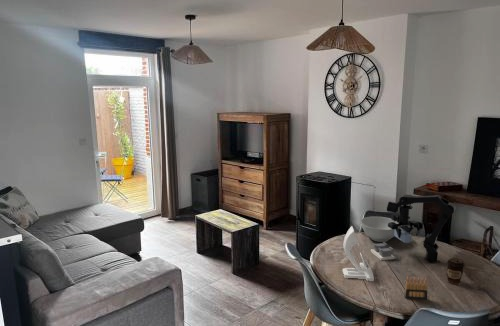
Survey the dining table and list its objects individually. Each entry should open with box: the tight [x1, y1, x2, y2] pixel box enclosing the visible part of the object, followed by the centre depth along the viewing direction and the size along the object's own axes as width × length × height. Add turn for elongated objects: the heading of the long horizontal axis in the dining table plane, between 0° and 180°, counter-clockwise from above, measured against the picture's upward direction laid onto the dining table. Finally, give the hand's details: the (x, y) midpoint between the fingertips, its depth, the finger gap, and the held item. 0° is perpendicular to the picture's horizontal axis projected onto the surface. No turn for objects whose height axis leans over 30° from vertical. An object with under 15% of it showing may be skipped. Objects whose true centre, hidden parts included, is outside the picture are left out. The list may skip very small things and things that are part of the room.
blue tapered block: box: [394, 227, 412, 244], centre depth 236 cm, size 12×4×5 cm, turn 10°
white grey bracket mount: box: [370, 242, 395, 261], centre depth 235 cm, size 13×9×6 cm
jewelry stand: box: [342, 225, 375, 282], centre depth 214 cm, size 25×16×25 cm, turn 176°
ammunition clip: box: [403, 275, 429, 301], centre depth 186 cm, size 11×2×12 cm, turn 81°
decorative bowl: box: [360, 215, 399, 243], centre depth 261 cm, size 27×27×12 cm
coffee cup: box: [446, 257, 466, 285], centre depth 200 cm, size 9×8×13 cm
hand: (402, 237), depth 236 cm, fingers closed on blue tapered block, 4 cm apart
